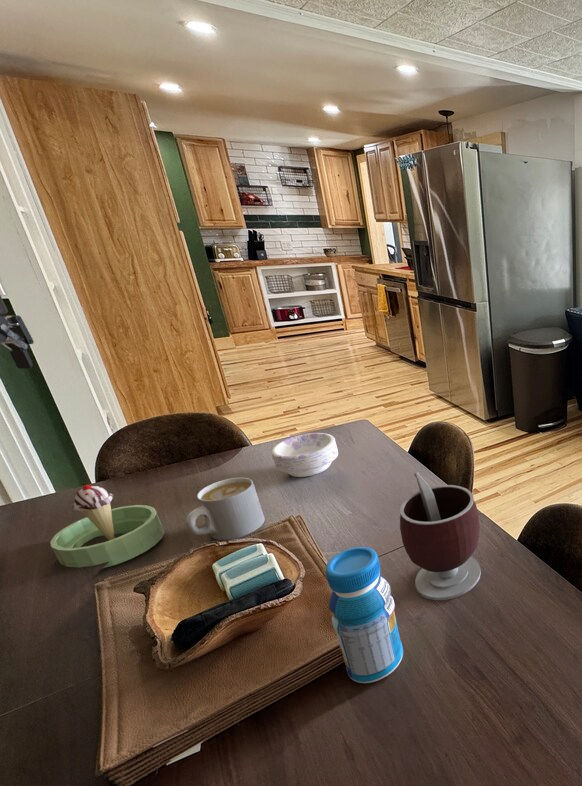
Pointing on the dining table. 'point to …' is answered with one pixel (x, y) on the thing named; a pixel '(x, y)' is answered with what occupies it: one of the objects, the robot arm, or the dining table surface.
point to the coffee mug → (227, 509)
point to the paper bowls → (305, 454)
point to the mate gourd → (441, 539)
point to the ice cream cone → (96, 508)
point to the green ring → (127, 519)
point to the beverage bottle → (363, 615)
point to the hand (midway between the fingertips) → (7, 374)
